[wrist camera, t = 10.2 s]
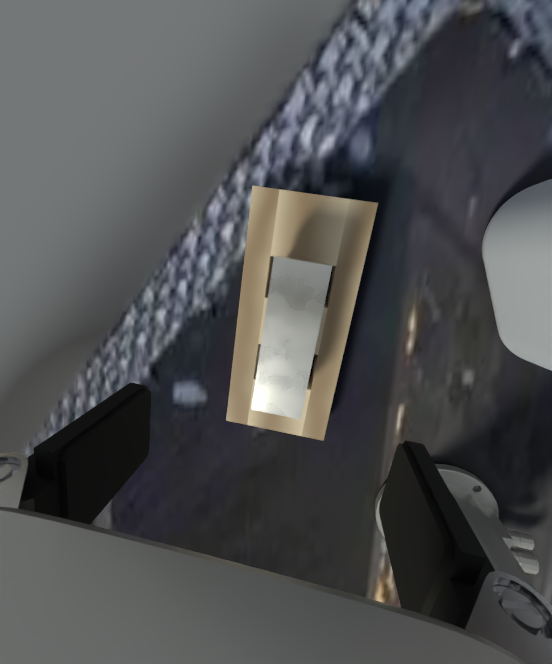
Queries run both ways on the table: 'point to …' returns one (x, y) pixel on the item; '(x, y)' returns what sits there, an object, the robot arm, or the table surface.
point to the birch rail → (348, 261)
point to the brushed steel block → (290, 334)
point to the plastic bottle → (522, 272)
